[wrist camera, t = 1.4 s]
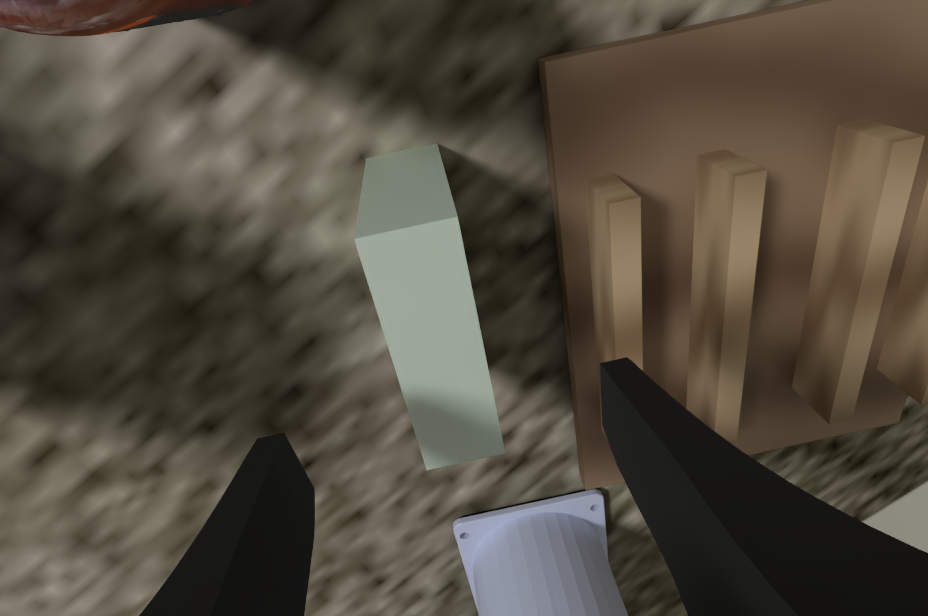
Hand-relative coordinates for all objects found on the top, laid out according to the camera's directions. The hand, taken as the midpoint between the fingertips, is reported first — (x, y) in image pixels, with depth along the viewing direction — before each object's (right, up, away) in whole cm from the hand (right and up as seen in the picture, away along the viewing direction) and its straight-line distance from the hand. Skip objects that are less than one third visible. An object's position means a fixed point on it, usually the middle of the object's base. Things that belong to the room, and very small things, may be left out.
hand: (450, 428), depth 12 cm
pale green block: (-1, +5, +8) cm, 10 cm away
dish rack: (+12, +4, +11) cm, 17 cm away
